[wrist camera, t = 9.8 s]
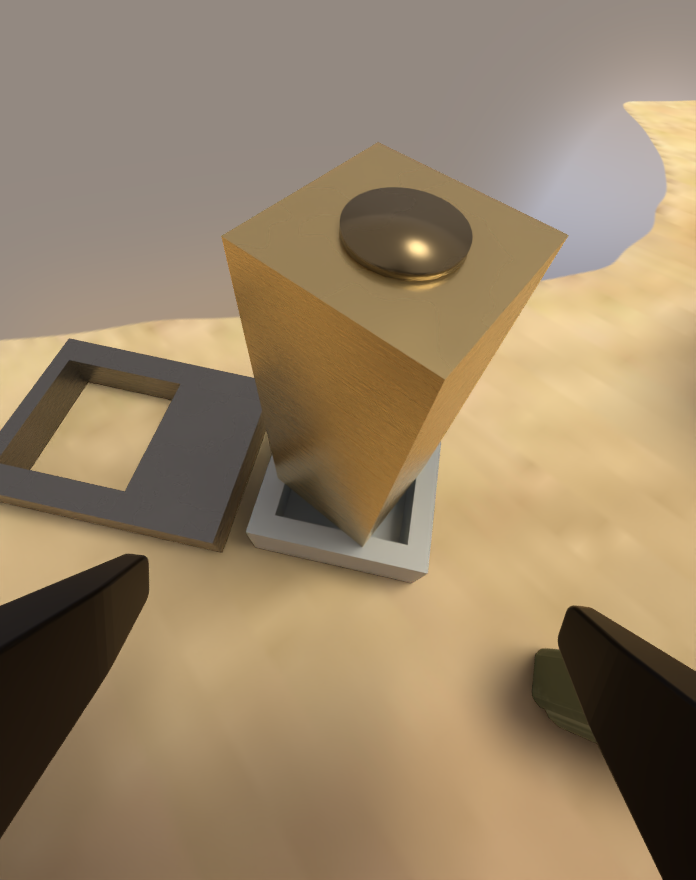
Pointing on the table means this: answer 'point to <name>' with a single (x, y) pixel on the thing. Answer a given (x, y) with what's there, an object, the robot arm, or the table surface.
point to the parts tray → (316, 538)
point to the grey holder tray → (167, 457)
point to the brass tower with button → (376, 321)
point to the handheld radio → (558, 693)
